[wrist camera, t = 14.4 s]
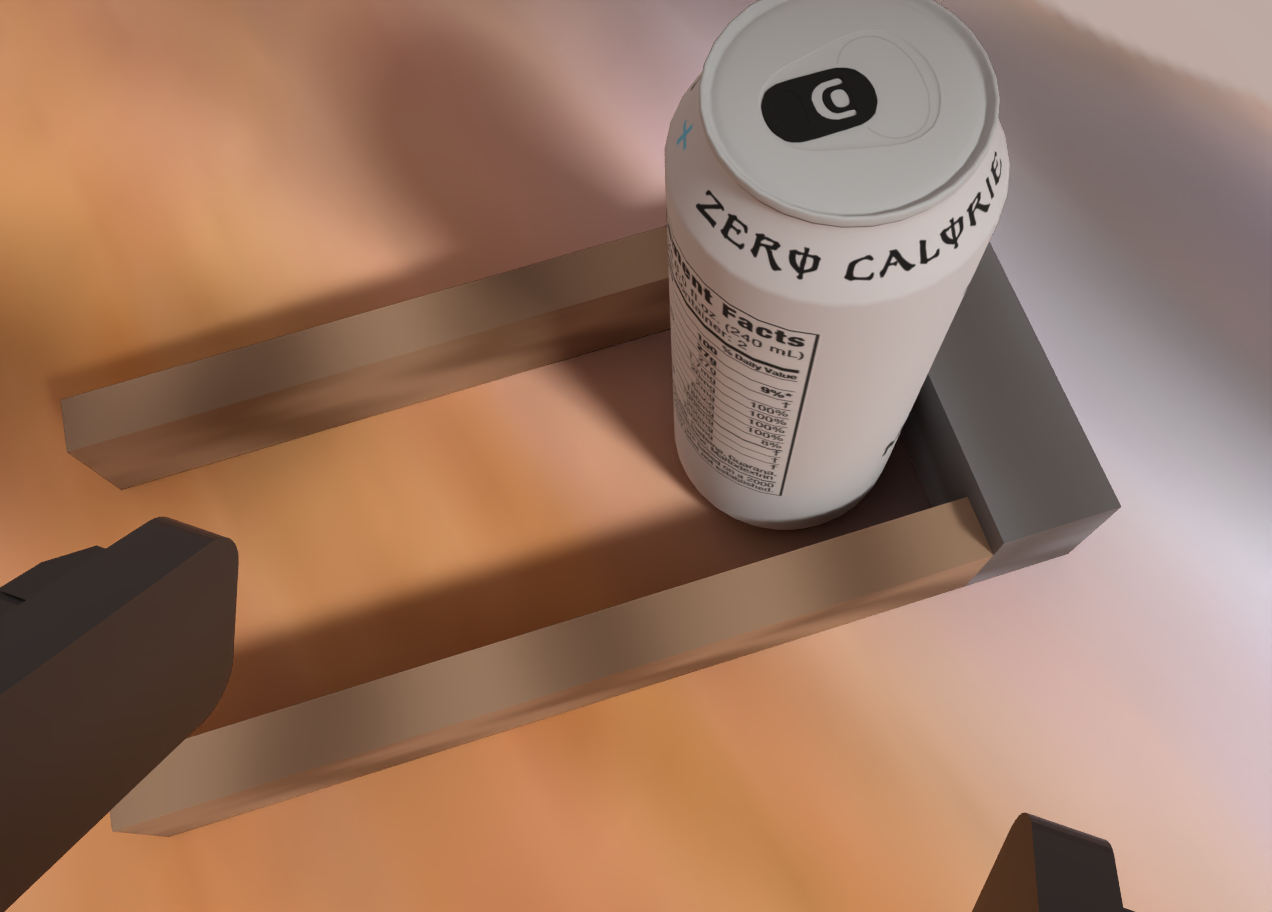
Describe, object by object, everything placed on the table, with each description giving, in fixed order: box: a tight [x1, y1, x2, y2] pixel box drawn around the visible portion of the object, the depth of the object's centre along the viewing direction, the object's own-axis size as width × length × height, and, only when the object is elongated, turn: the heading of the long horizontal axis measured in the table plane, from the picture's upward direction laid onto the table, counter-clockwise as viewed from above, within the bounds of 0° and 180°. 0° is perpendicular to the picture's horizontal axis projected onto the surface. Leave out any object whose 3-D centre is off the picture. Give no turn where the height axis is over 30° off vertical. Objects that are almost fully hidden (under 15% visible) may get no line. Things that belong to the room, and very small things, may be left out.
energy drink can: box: [665, 0, 1010, 530], centre depth 25 cm, size 6×6×15 cm
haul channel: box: [61, 226, 1121, 837], centre depth 30 cm, size 25×12×4 cm, turn 107°
